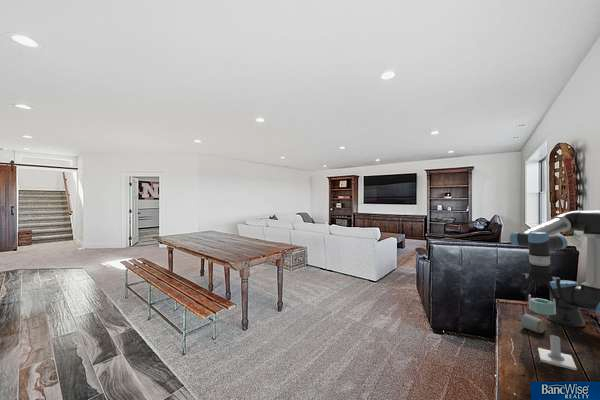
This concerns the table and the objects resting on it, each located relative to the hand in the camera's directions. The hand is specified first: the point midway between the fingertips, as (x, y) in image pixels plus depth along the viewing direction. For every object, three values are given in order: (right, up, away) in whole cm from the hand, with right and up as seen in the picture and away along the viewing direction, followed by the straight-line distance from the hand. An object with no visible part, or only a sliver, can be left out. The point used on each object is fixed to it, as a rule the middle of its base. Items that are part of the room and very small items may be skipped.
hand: (542, 310), depth 123 cm
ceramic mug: (+12, -18, +17) cm, 27 cm away
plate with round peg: (-3, -18, -9) cm, 20 cm away
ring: (0, 0, 0) cm, 0 cm away
